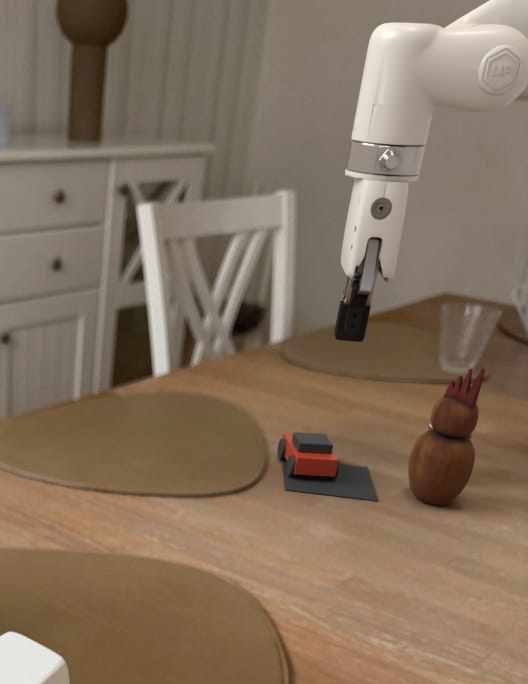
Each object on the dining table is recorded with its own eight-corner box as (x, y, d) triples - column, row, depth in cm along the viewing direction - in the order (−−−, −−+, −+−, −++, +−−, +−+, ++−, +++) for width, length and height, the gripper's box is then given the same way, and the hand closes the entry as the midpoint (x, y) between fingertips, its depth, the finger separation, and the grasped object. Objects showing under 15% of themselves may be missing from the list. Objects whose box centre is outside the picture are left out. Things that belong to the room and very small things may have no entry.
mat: (367, 467, 115) (367, 467, 115) (377, 501, 107) (377, 500, 107) (281, 457, 116) (281, 457, 116) (285, 490, 108) (285, 489, 108)
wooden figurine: (469, 511, 106) (512, 374, 98) (418, 510, 105) (457, 372, 97) (442, 486, 111) (481, 355, 103) (394, 485, 111) (429, 352, 103)
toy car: (344, 450, 108) (296, 448, 108) (337, 483, 110) (289, 480, 110) (327, 426, 115) (281, 423, 115) (320, 456, 117) (275, 454, 117)
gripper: (433, 172, 96) (390, 360, 105) (409, 157, 108) (373, 325, 118) (354, 167, 96) (319, 354, 106) (340, 152, 109) (310, 320, 119)
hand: (348, 338), depth 112 cm, fingers closed
